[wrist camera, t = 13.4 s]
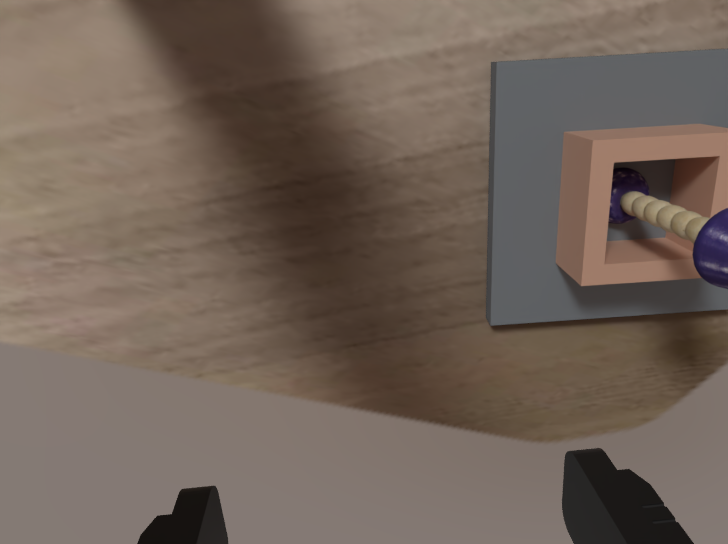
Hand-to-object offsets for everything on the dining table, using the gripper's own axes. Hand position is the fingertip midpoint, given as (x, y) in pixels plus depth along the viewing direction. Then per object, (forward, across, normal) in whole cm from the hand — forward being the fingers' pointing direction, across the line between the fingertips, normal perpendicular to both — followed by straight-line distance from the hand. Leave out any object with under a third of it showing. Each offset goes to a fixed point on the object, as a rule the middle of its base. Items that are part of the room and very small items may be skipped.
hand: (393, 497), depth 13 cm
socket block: (+32, -21, +2) cm, 39 cm away
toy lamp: (+31, -20, +2) cm, 37 cm away
